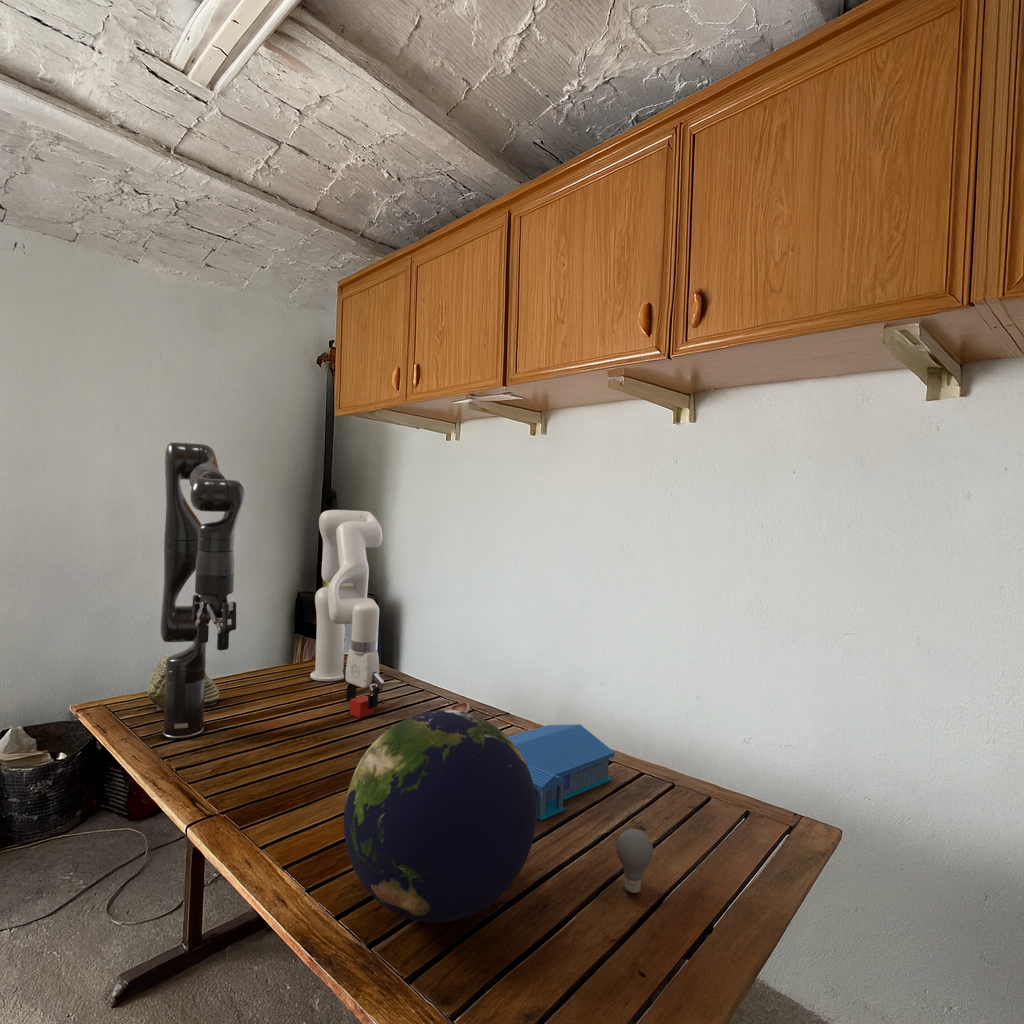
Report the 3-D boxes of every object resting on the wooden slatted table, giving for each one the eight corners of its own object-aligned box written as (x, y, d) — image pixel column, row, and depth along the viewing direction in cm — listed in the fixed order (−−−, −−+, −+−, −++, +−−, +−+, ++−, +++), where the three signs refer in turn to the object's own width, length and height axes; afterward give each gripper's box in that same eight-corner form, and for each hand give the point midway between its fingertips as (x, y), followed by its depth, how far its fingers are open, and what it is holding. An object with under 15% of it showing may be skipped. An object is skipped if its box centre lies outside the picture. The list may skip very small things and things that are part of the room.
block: (349, 714, 184) (350, 699, 184) (363, 710, 189) (364, 695, 188) (359, 718, 182) (360, 702, 182) (373, 713, 186) (374, 698, 186)
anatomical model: (417, 708, 179) (430, 696, 190) (416, 722, 179) (430, 710, 191) (462, 714, 177) (473, 701, 188) (461, 728, 177) (472, 715, 188)
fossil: (144, 707, 182) (145, 655, 182) (212, 696, 194) (213, 647, 194) (151, 716, 175) (153, 662, 175) (221, 703, 188) (223, 653, 188)
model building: (493, 841, 119) (496, 788, 119) (420, 792, 137) (422, 747, 137) (623, 784, 145) (625, 741, 145) (547, 750, 164) (548, 712, 163)
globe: (296, 934, 92) (304, 728, 91) (406, 836, 119) (412, 678, 119) (484, 1004, 80) (494, 770, 80) (557, 878, 108) (565, 703, 108)
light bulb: (610, 879, 108) (613, 822, 108) (644, 879, 109) (647, 822, 109) (619, 902, 102) (622, 840, 102) (655, 901, 103) (658, 840, 103)
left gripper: (181, 569, 138) (178, 643, 138) (215, 576, 129) (212, 655, 130) (215, 567, 144) (212, 638, 144) (249, 573, 135) (246, 649, 136)
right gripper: (335, 642, 187) (332, 699, 188) (374, 654, 177) (371, 714, 177) (355, 638, 193) (352, 693, 194) (394, 649, 183) (391, 707, 183)
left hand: (212, 646), depth 137 cm, fingers open, 8 cm apart
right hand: (361, 703), depth 186 cm, fingers open, 9 cm apart
